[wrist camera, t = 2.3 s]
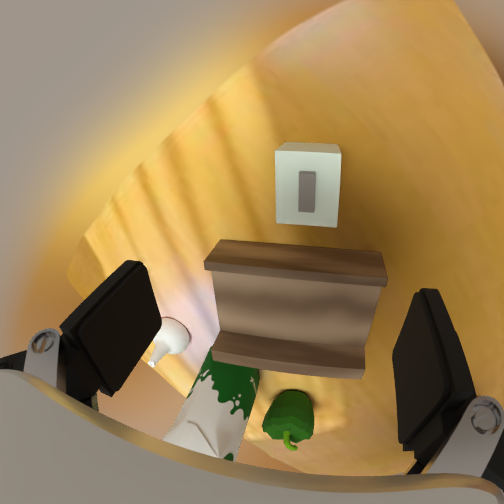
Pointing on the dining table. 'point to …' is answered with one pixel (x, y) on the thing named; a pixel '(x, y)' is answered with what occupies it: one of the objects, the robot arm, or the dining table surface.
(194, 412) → the milk carton
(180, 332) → the garlic bulb
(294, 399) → the bell pepper
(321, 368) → the shelf
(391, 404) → the dining table surface
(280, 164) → the cabinet
